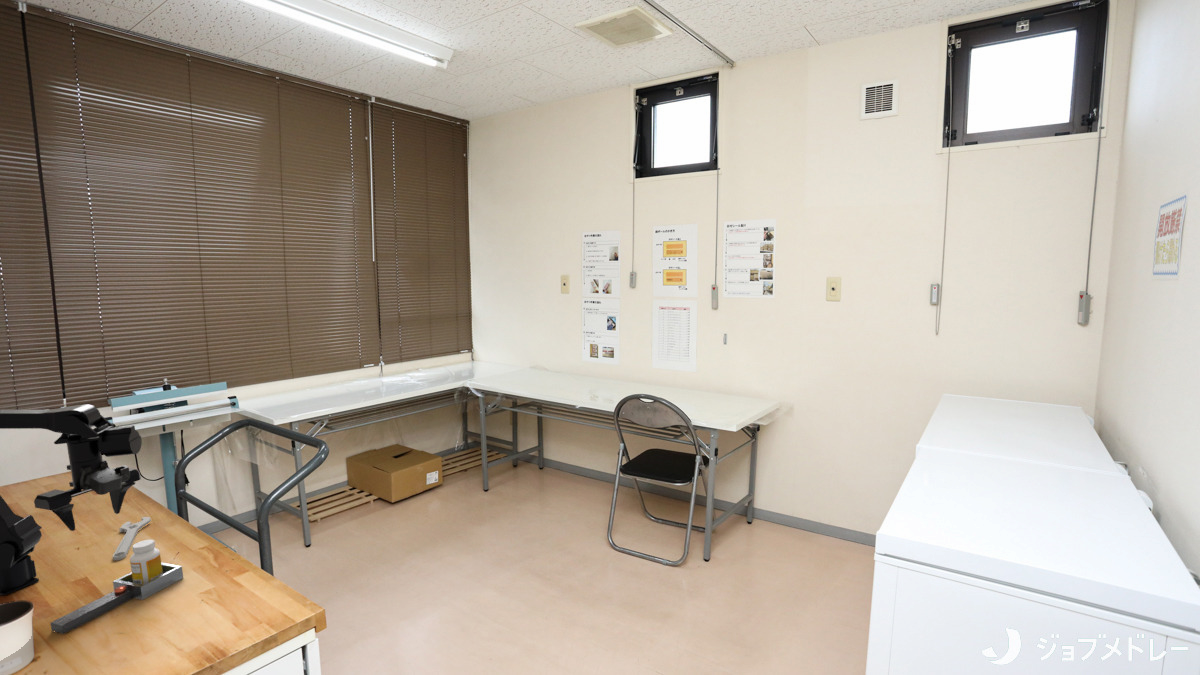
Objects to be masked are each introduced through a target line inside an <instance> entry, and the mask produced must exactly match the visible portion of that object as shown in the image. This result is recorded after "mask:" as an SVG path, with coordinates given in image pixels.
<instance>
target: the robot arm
mask: <svg viewBox="0 0 1200 675" xmlns="http://www.w3.org/2000/svg"><path fill="white" fill-rule="evenodd" d="M94 427H95V428H94ZM0 429H2V430H3V429H4V430H5V429H6V430H7V429H8V430H9V429H10V430H11V429H14V430H16V429H18V430H19V429H20V430H21V429H32V430H33V429H37V430H39V429H40V430H41V429H42V430H47V431H51V432H53V433H57V434H58V433H59V434H61V435H60V436H59V437H58V438H57V439H56V440H55V441H53V444H54V445H62V444H66V448H67V453H68V454H67V455H68V461H69V464H67V465H66V470H67V471H70V472H71V473H70V474H71V478H72V479H71V481H70V482H68V483H69V484H68V485H69V487H72V488H71V489H68V490H62V489H61V490H60V489H53V490H49V491H46V492H43V493H41V494H37V495H36V497H35V498H34V500H33V503H34V504H33V505H34V508H35V509H41V510H46V511H51V512H53V514H55V515H56V516H57V517H58V518H59V519H60V520H61V522H62V523H63V524H64V525H65V527H67V528H68V529H69V531H71V532H74V531H75V530H76V522H75V518H74V513H73V508H74V507H75V504H74V503H71V501H72V500H73V498H74V497H77V496H82V495H84V494H87V493H90V492H94V493H96V495H101V496H102V495H106V494H109V497H110V501H111V502H110V503H111V506H112V510H113V512H114V514H115V515H118V514H120V513H121V509H122V506H123V503H124V498H125V496H126V494H127V491H128V490H129V489H130V488H131V487H132V486H135V485H136V482H137V481H140V480H141V479H142V477H141V472H140V471H139V469H137V468H130V467H129V466H128V465H126V464H125V465H124V464H123V465H120V466H118V467H115V468H110V467H109V464H108V461H107V460H105V459H103V456H105V457H107V458H108V457H109V458H110V457H118V456H119V457H120V456H128V455H137V454H139V453H140V451H141V448H142V444H143V443H142V442H143V440H142V436H141V435H140V433H139V431H138V430H136V428H135V425H127V426H121V427H115V426H114V425H113V423H111V422H110V421H109V420H108V419H106V418H105V417H104V415H101V412H100V410H99V409H98V408H97V407H96V406H95V405H92V404H89V403H88V404H86V403H85V404H77V405H71V406H66V407H65V406H64V407H59V408H53V409H0ZM42 528H43V527H42V526H41V525H39V524H38V522H36V520H35V518H34V516H33V515H32V514H29V515H27V516H25V517H23V516H21V515H18V514H16V513H14V512H13V510H12V509H11V507H10V506H9V504H7V502H6V501H5V499H4V498H3V496H2V495H1V494H0V596H7V595H10V594H12V593H14V592H17V591H18V590H21V589H23V588H25V587H28V586H31V585H33V584H35V583H37V582H39V581H40V579H39V578H38V577H37V576H38V575H37V570H36V564H35V560H34V559H32V556H31V555H29V554H31V553H33V552H34V550H35V548H36V545H38V544H39V542H40V540H41V539H42V536H43V535H42V531H41V529H42Z"/></svg>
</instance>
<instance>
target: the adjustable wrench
mask: <svg viewBox="0 0 1200 675" xmlns="http://www.w3.org/2000/svg"><path fill="white" fill-rule="evenodd" d="M150 521H151V522H152V520H151V517H149V516H143V517H141V520H140V521H138V522H136V523H135V522H134V523H132V522H131V521H130V520H129V521H126V522H124V523H123V524H122V525H121V527H119V533H125V532H126V533H125V534H124V536H123V538H122V539H121V541H120V542H119V544H118V546H117V548H116V549H115V551H114V553H113V555H112V560H113V561H115V560H116V561H120V560H124V559H125V558H126V557H127V556H128V554H127V553H129V552H128V551H130V550H131V548H132V546H133V544H134V541H135V539H136V537H137V535H136V534H138V533H139V532H138V530H139V529H141V528H142V527H143V526H145V525H146V524H148V523H149V522H150ZM137 532H138V533H137ZM135 536H136V537H135ZM134 538H135V539H134ZM133 540H134V541H133ZM132 543H133V544H132ZM131 545H132V546H131ZM130 547H131V548H130ZM129 549H130V550H129Z"/></svg>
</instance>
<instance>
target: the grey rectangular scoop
mask: <svg viewBox="0 0 1200 675" xmlns="http://www.w3.org/2000/svg"><path fill="white" fill-rule="evenodd" d="M161 564H162V571H163V574H162V575H160V576H158V577H157V578H155V579H153V580H151V581H149V582H147V583H145V584H143V585H140V584H135V583H133V578H132V571H131V572H129V573H127V574H125V575H123V576H121V577H119V578H117V579H114V580H112V584H113V585H112V586H113V591H112V592H109V593H107V594H105V595H103V596H101V597H99V598H97V599H95V600H93V601H91V602H89V603H87V604H85V605H83V606H81V607H78V608H77V609H75V610H73V611H71V612H69V613H67V614H64V615H63V616H60V617H59V618H57V619H55V620H53V621H51V622H50V627H51V632H52V631H55V632H59V633H62V634H64V633H66V632H68V631H70V630H72V629H73V630H75V629H77V628H79V627H81V626H83V625H85V624H87V623H89V622H91V621H92V620H94V619H96V618H99V617H100V616H102V615H104V614H106V613H108V612H110V611H111V610H114V609H116V608H117V607H119V606H121V605H124V604H125V603H127V602H129V601H131V600H133V599H135V600H136V599H137V600H140V601H141V600H142V601H143V600H145V599H148V598H149V597H150V596H153V595H155V594H157V593H158V592H160V591H162V590H164V589H166V588H168V587H170V586H171V584H172V585H173V584H175V583H177V582H179V581H181V580H183V579H184V573H183V566H182V565H176V564H172V563H168V562H167V563H166V562H162V561H161ZM73 630H72V631H73ZM55 632H54V633H55ZM70 632H71V631H70ZM59 633H58V634H59ZM68 633H69V632H68ZM62 634H61V635H62ZM66 634H67V633H66ZM64 635H65V634H64Z"/></svg>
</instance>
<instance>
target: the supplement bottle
mask: <svg viewBox="0 0 1200 675" xmlns="http://www.w3.org/2000/svg"><path fill="white" fill-rule="evenodd" d="M155 542H156V541H155V540H154V539H150V538H149V539H144V540H141V541H138V542H135V543H133V544H132V546H131V548H132V552H133V554H131V556H130V558H129V563H130V570H131V572H132V578H133V583H135V584H140V585H143V584H145V583H147V582H149V581H151V580H153V579H155V578H157V577H158V576H160V575H162V574H163V571H162V564H161V562H162V557H161V550H159V548H158V547H157V548H156V543H155Z"/></svg>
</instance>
